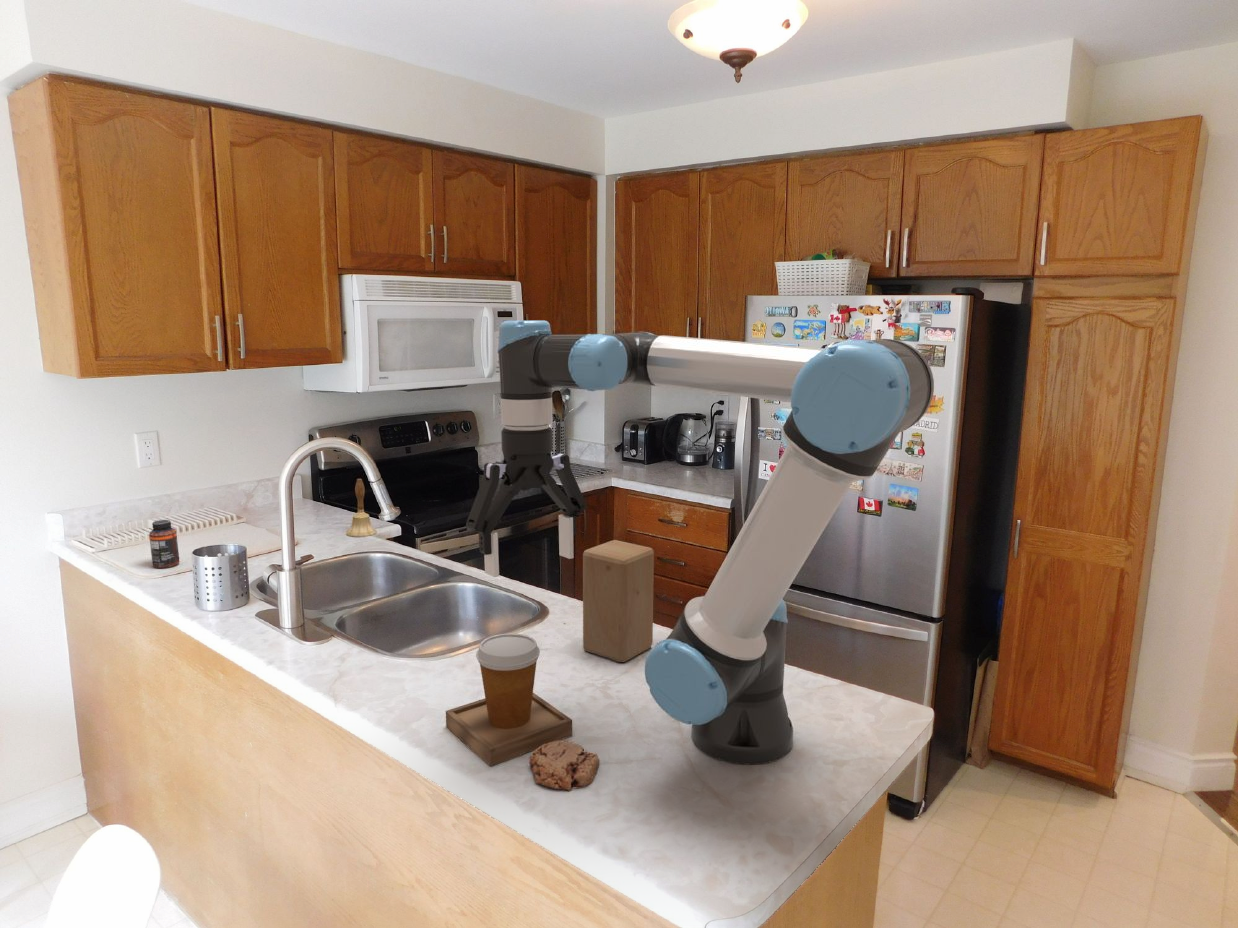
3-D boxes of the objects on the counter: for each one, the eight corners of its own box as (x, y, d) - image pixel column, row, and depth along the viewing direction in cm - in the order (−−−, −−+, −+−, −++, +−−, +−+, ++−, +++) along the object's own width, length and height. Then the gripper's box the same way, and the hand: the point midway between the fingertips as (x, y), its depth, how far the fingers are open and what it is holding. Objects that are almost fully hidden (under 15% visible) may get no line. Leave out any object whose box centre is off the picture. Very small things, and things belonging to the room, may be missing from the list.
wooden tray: (572, 735, 123) (572, 719, 123) (490, 766, 115) (490, 749, 114) (524, 700, 134) (523, 685, 133) (446, 726, 125) (445, 710, 125)
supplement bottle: (172, 560, 207) (168, 517, 205) (184, 564, 203) (180, 520, 201) (148, 566, 202) (143, 522, 200) (159, 570, 198) (155, 525, 196)
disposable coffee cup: (477, 736, 119) (475, 659, 116) (478, 705, 128) (476, 633, 126) (542, 731, 120) (542, 655, 118) (538, 701, 129) (537, 630, 127)
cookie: (561, 744, 121) (560, 726, 120) (614, 770, 114) (614, 751, 114) (510, 772, 114) (510, 752, 113) (564, 802, 107) (564, 781, 106)
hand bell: (382, 530, 236) (379, 476, 233) (367, 538, 228) (364, 482, 225) (356, 528, 238) (353, 475, 235) (340, 536, 230) (337, 480, 227)
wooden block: (623, 665, 148) (624, 559, 144) (580, 651, 153) (580, 549, 150) (654, 647, 155) (656, 547, 152) (613, 634, 161) (613, 537, 158)
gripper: (578, 417, 130) (580, 545, 134) (438, 432, 114) (444, 576, 118) (608, 421, 125) (609, 554, 128) (465, 437, 109) (471, 589, 112)
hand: (530, 565), depth 123 cm, fingers open, 13 cm apart
